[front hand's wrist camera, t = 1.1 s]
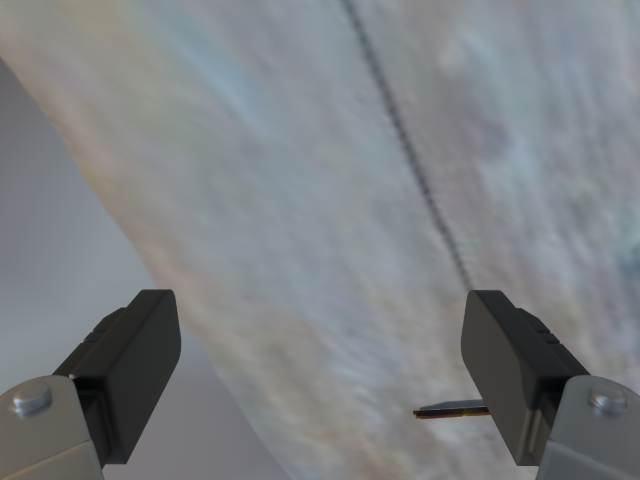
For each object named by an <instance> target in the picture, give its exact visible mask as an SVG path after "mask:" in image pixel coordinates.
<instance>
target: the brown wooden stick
mask: <svg viewBox="0 0 640 480" xmlns="http://www.w3.org/2000/svg"><path fill="white" fill-rule="evenodd" d="M413 415H415V417H416V418H420V419H430V418H446V417H462V416H464V415H467V416H480V415H491V414H490V412H489V410H488V408H487V407H474V408H458V409H441V410H422V411H413Z"/></svg>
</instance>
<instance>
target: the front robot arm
mask: <svg viewBox="0 0 640 480" xmlns="http://www.w3.org/2000/svg"><path fill="white" fill-rule="evenodd" d="M180 352H181V335H180V328H179V321H178V313H177V306H176V299H175V295H174V292H173V291H172V290H141V291H140V292H139V293H138V295H137V296H136V297H135V298H134V299H133V300H132V302H131V303H130V304H129V305H128V306H127V307H126V308H120V309H118V310H116V311H115V312H113V313H111V314H110V315H108V316H106V317H105V318H103V319H102V321H101V322H100V323H99V324H98V325H97V326H96V327H95V328H94V329H93V332H92V333H90V334H89V335H88V336H87V337H86V338H85V339H84V340H83V343H80V344H79V346H78V347H77V348H76V349H75V350H74V351H73V352H72V353H71V354H70V355H69V357H68V358H67V359H66V360H65V361H64V362H63V363H62V364H61V365H60V366H59V367H58V368H57V370H56V371H55V372H54V373H53V374H52V375H49V376H42V377H38V378H34V379H31V380H28V381H25V382H23V383H21V384H18V385H16V386H15V387H13V388H11V389H9V390H8V391H6V392H5V393H3V394H2V395H1V396H0V480H105V479H104V476H103V473H102V469H103V467H104V465H105V464H126V463H127V461H128V459H129V458H130V456H131V454H132V452H133V450H134V448H135V446H136V444H137V442H138V440H139V438H140V436H141V434H142V432H143V430H144V428H145V426H146V424H147V422H148V420H149V418H150V416H151V414H152V412H153V410H154V408H155V406H156V404H157V402H158V400H159V398H160V396H161V394H162V392H163V391H164V389H165V387H166V385H167V383H168V381H169V379H170V377H171V375H172V373H173V371H174V369H175V367H176V365H177V363H178V360H179V357H180ZM461 352H462V357H463V361H464V363H465V365H466V367H467V369H468V371H469V373H470V375H471V377H472V379H473V381H474V383H475V385H476V387H477V389H478V391H479V393H480V395H481V397H482V398H483V400H484V402H485V404H486V406H487V408H488V410H489V412H490V414H491V416H492V418H493V420H494V422H495V424H496V426H497V428H498V430H499V432H500V434H501V435H502V437H503V439H504V441H505V443H506V445H507V447H508V449H509V451H510V453H511V455H512V457H513V459H514V461H515V463H516V465H517V466H539V469H538V473H537V476H536V479H535V480H640V396H639V395H638V394H637V393H635V392H634V391H632V390H631V389H629V388H627V387H625V386H624V385H622V384H619V383H617V382H615V381H612V380H609V379H606V378H602V377H598V376H591V375H590V373H589V372H588V371H587V370H586V369H585V368H584V367H583V366H582V365H581V364H580V363H579V362H578V361H577V359H576V358H575V357H574V356H573V355H572V354H571V353H570V352H569V351H568V350H567V349H566V348H565V346H564V345H563V344H560V341H559V340H558V339H557V338H556V337H555V336H554V335H553V333H550V330H549V329H548V328H547V327H546V326H545V325H544V324H543V323H542V322H541V321H540V319H538V318H537V317H535V316H533V315H532V314H530V313H528V312H527V311H525V310H523V309H522V308H516V307H515V306H514V305H513V304H512V303H511V302H510V300H509V299H508V298H507V297H506V296H505V295H504V294H503V292H502V291H500V290H471V291H470V292H469V294H468V296H467V301H466V308H465V315H464V322H463V329H462V336H461Z"/></svg>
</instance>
